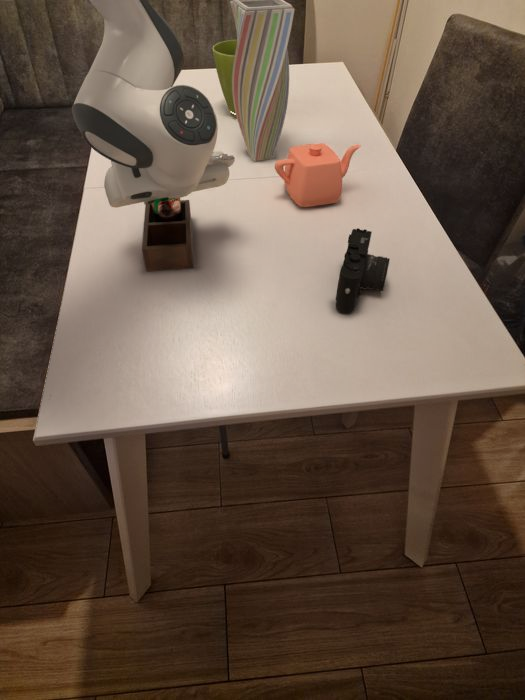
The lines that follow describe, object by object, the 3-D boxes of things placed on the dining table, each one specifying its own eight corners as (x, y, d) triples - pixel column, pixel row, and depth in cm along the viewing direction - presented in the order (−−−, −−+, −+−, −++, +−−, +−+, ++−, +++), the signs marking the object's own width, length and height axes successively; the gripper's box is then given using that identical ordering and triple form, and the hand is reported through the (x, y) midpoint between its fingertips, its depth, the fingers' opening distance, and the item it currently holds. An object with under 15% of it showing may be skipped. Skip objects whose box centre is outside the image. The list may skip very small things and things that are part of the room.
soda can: (162, 240, 88) (151, 177, 79) (153, 226, 91) (142, 165, 82) (188, 233, 90) (180, 171, 81) (178, 220, 93) (170, 159, 84)
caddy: (146, 271, 83) (141, 249, 80) (149, 223, 93) (145, 202, 90) (193, 268, 84) (191, 246, 80) (191, 220, 94) (189, 199, 91)
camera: (376, 323, 74) (386, 281, 68) (330, 314, 76) (336, 273, 70) (385, 269, 84) (395, 228, 78) (344, 262, 85) (351, 222, 79)
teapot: (265, 187, 104) (266, 138, 96) (343, 177, 107) (350, 129, 100) (282, 214, 96) (284, 163, 88) (365, 202, 100) (374, 152, 92)
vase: (298, 163, 112) (308, 7, 90) (242, 172, 108) (239, 12, 87) (276, 140, 120) (281, -8, 99) (224, 147, 117) (217, -4, 96)
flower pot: (205, 117, 130) (200, 49, 119) (236, 100, 139) (234, 35, 128) (252, 129, 125) (251, 59, 114) (281, 111, 134) (283, 44, 122)
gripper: (231, 134, 76) (214, 168, 89) (99, 157, 70) (101, 189, 83) (243, 173, 76) (224, 201, 89) (113, 199, 70) (113, 225, 83)
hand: (164, 196), depth 86 cm, fingers closed on soda can, 5 cm apart
